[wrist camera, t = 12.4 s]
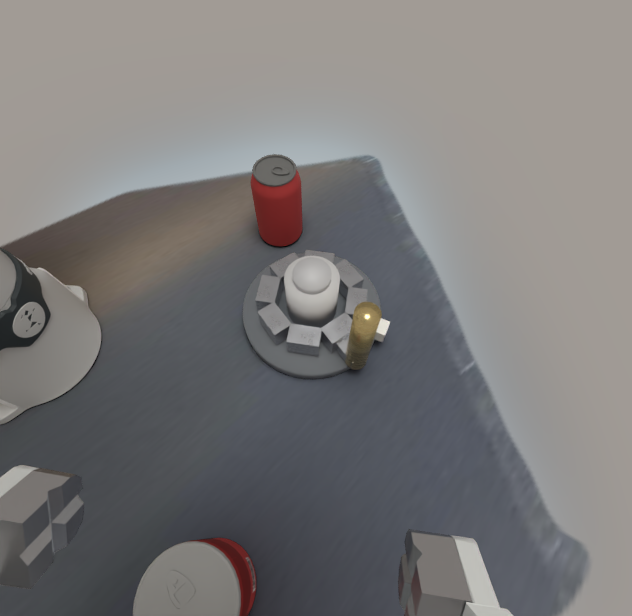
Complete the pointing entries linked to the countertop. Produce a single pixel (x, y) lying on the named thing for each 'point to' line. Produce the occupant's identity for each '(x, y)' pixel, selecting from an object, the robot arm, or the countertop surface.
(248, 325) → the flange base
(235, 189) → the countertop surface
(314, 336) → the gear with peg
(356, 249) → the countertop surface
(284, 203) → the beer can
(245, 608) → the canned food
